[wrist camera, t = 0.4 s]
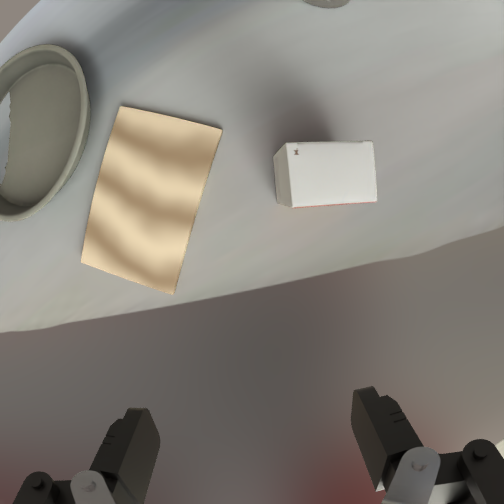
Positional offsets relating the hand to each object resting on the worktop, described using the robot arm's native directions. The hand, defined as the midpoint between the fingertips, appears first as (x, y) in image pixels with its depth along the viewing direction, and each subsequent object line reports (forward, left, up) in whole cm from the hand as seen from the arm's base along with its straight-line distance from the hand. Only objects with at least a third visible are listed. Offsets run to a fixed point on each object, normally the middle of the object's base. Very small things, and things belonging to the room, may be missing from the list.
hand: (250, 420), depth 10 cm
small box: (-12, +4, -27) cm, 29 cm away
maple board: (-4, -14, -27) cm, 30 cm away
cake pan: (-8, -35, -27) cm, 45 cm away
